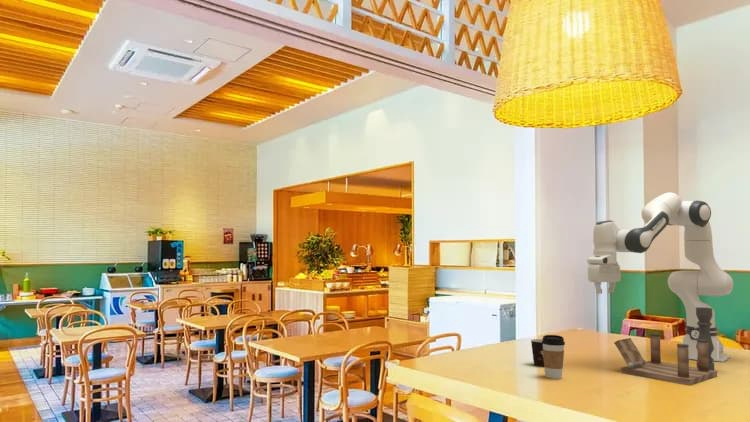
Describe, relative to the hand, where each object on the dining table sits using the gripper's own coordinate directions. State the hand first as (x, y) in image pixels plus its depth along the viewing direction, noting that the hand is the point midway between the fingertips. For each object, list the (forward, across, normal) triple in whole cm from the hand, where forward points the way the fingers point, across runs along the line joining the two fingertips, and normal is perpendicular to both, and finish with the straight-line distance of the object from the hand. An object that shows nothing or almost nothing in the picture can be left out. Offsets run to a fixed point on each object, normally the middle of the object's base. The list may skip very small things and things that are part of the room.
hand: (605, 293), depth 232 cm
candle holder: (+30, -26, +28) cm, 49 cm away
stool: (+30, -7, +22) cm, 38 cm away
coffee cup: (+31, +34, -2) cm, 46 cm away
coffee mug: (+30, +18, -16) cm, 39 cm away
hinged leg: (+26, 0, +13) cm, 29 cm away
